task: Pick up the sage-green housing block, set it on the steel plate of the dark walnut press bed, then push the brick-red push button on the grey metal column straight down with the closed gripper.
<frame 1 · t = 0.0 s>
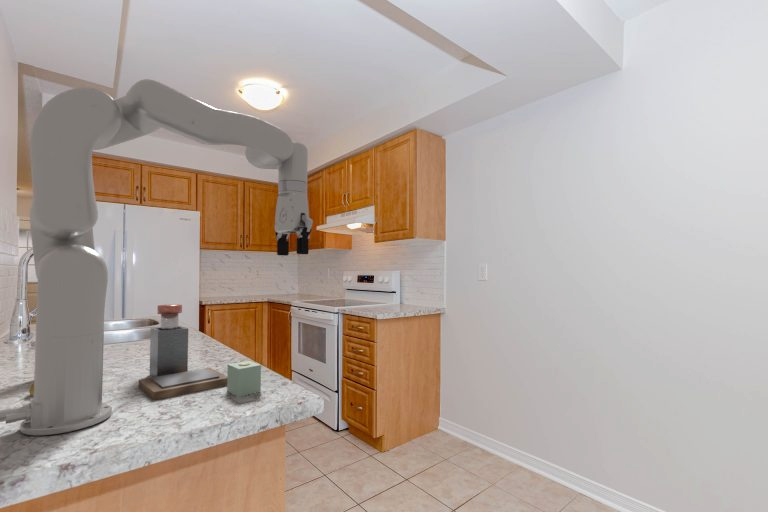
hand: (292, 254, 101), 31 cm above the countertop, fingers open, 9 cm apart
housing: (243, 391, 86), on the countertop
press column: (168, 374, 100), on the countertop
push button: (169, 322, 100), point 14 cm above the countertop, slide at 0.0 cm
press bed: (184, 385, 90), on the countertop
bread roll: (56, 392, 86), on the countertop
milk bottle: (61, 377, 98), on the countertop
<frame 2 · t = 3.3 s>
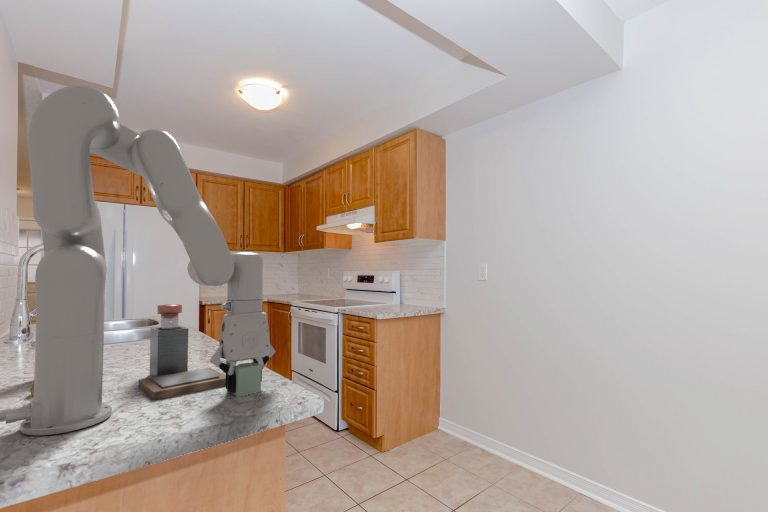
hand: (243, 388, 86), 1 cm above the countertop, fingers closed on housing, 5 cm apart
housing: (243, 391, 86), on the countertop, touching gripper
everything else where it was.
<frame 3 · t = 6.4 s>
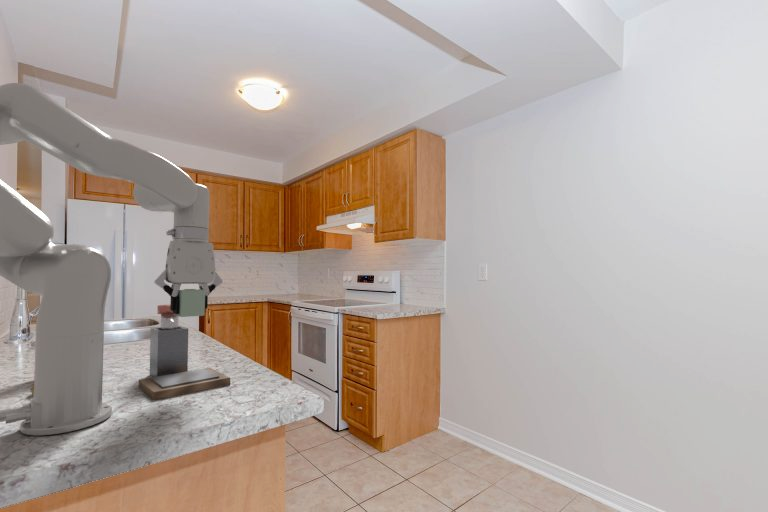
hand: (189, 312, 91), 17 cm above the countertop, fingers closed on housing, 5 cm apart
housing: (189, 315, 91), point 16 cm above the countertop, touching gripper
everything else where it was.
when the fingers open (4 cm above the countertop, at t = 9.5 s): housing drops 1 cm, resting on press bed.
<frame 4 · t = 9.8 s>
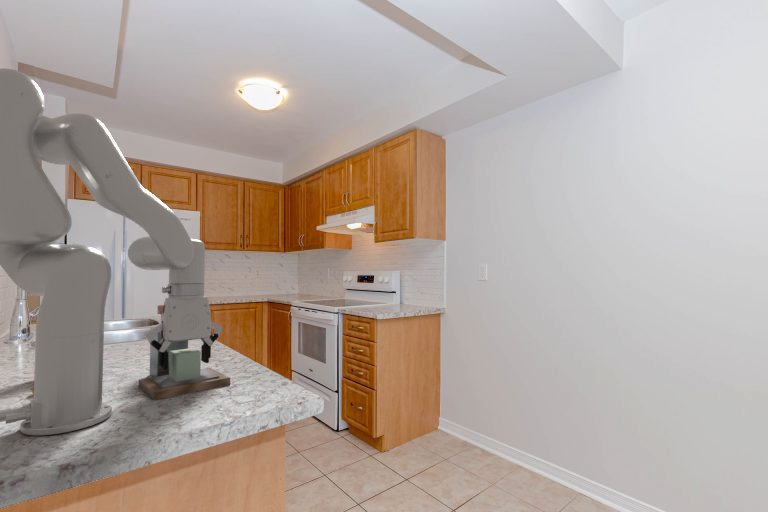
hand: (185, 364, 90), 5 cm above the countertop, fingers open, 8 cm apart
housing: (184, 376, 90), point 2 cm above the countertop, touching press bed
everything else where it was.
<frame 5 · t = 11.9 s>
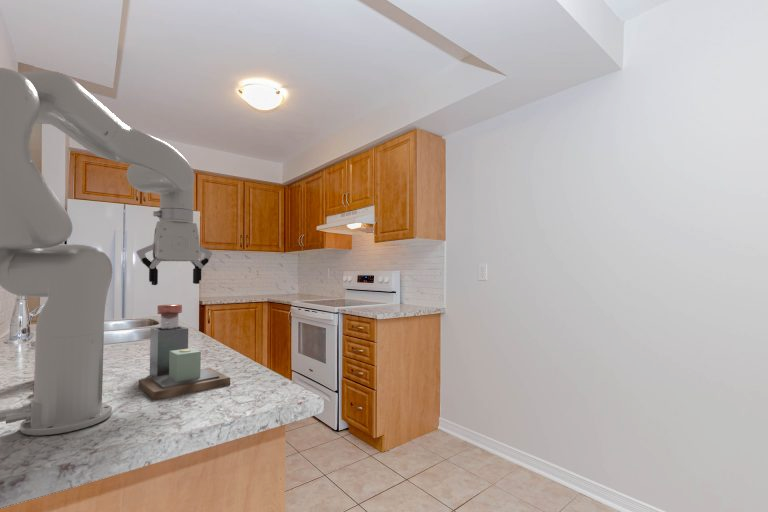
hand: (176, 284, 98), 24 cm above the countertop, fingers open, 9 cm apart
nothing on the countertop moved.
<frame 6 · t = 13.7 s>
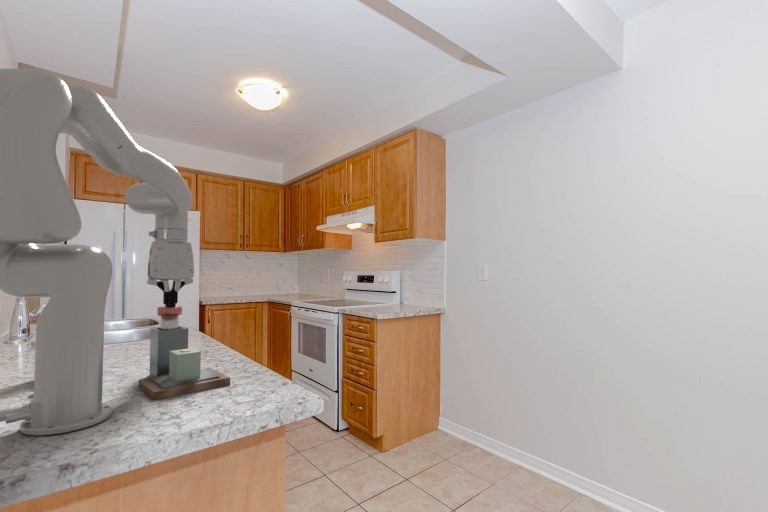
hand: (170, 306, 100), 18 cm above the countertop, fingers closed
push button: (169, 324, 100), point 13 cm above the countertop, slide at 0.4 cm, touching gripper
everything else where it was.
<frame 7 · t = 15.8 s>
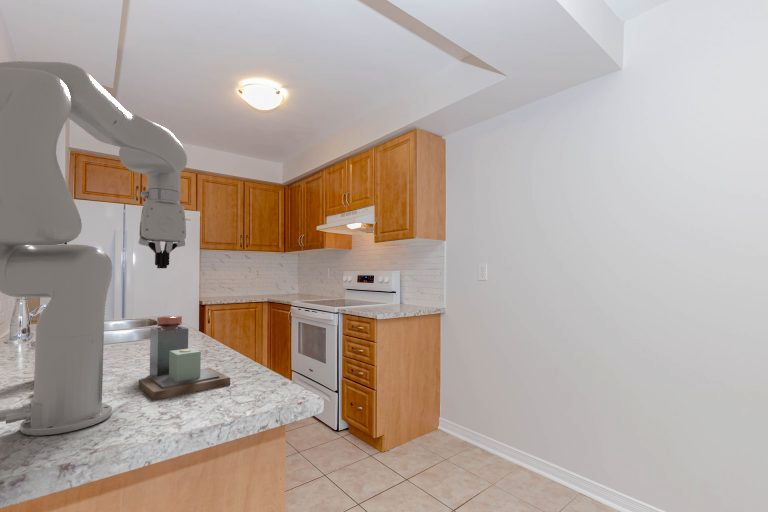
hand: (161, 268, 100), 28 cm above the countertop, fingers closed
push button: (169, 334, 100), point 10 cm above the countertop, slide at 3.1 cm
everything else where it was.
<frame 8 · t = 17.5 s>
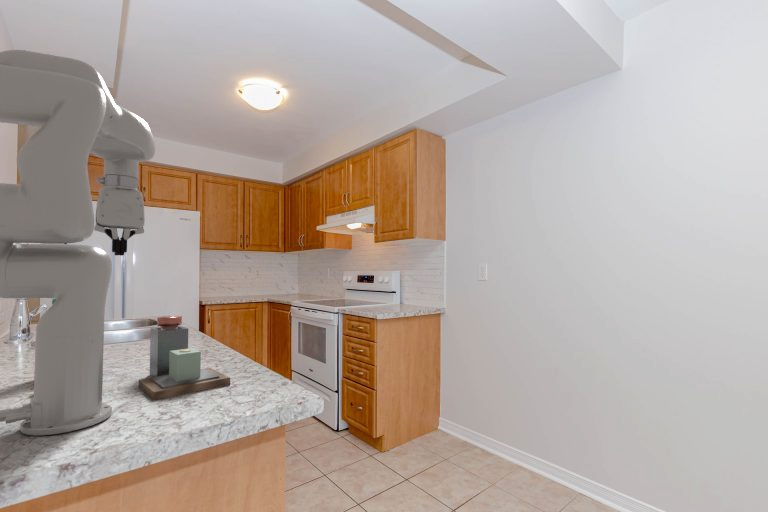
hand: (119, 255, 100), 31 cm above the countertop, fingers closed
nothing on the countertop moved.
at the end: housing inside the target area on the press bed (0.3 cm from its centre), point 2.0 cm above the press bed's base; push button slide at 3.1 cm; the gripper is holding nothing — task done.
